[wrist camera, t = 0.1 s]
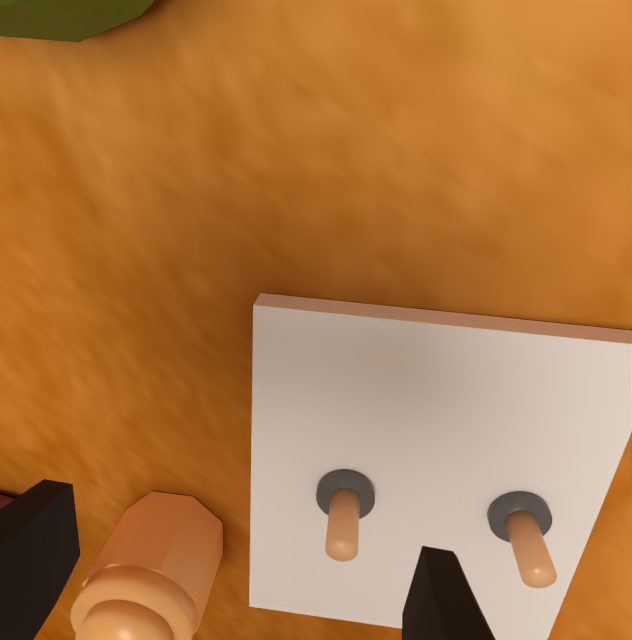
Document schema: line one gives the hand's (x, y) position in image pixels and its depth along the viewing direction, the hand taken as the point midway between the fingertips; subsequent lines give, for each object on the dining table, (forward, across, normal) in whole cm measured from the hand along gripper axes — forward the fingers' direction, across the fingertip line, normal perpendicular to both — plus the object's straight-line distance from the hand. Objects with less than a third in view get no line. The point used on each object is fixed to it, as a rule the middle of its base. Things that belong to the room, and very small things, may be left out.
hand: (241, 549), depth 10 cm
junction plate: (+10, -6, +6) cm, 13 cm away
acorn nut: (+10, +5, +12) cm, 16 cm away
